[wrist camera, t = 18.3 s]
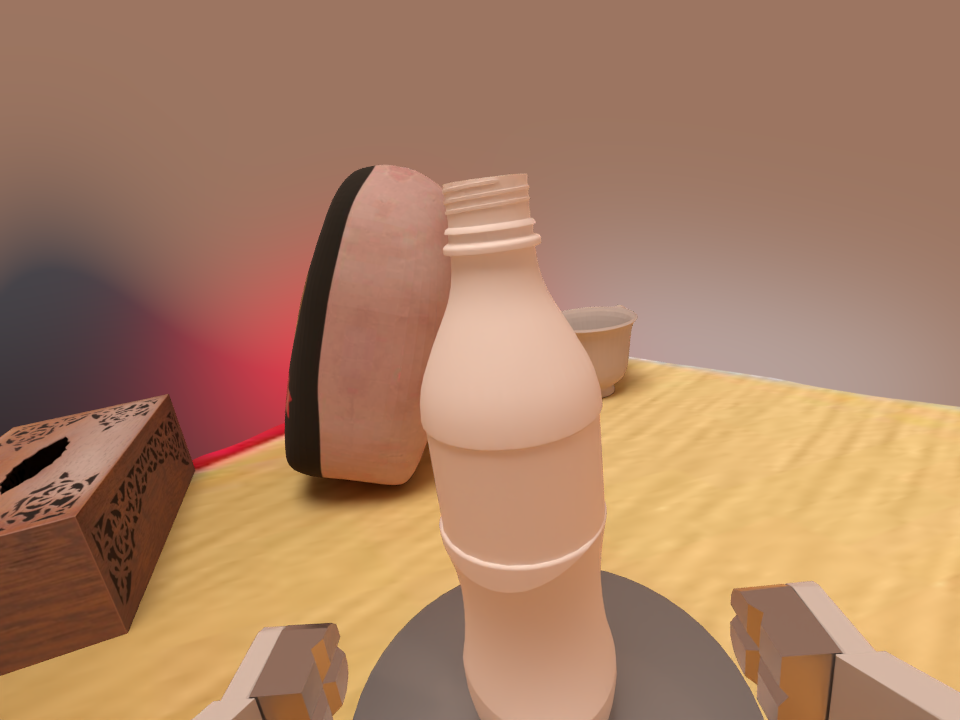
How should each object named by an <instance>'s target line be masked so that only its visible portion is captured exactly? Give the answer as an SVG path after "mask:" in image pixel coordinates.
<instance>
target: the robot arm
mask: <svg viewBox="0 0 960 720" xmlns="http://www.w3.org/2000/svg"><path fill="white" fill-rule="evenodd" d="M731 606H732V607H733V609H734V611H735V613H736V614H737V615H736V616H735V617H734V618H733V620H732V621H731V622H730V636H731V641H732V645H733V650H734V653H735V656H736V658H737V661H738V663H739V665H740V667H741V669H742V671H743V673H744V675H745V676H746V677H747V678H749V679H750V680H751V681H753V682H754V683H755V684H757V700H758V701H759V703H760V705H761V707H762V709H763V711H764V713H765V714H766V716H767V718H768V720H960V692H958V691H956V690H954V689H953V688H951V687H949V686H947V685H945V684H944V683H942V682H940V681H938V680H936V679H935V678H933V677H931V676H929V675H927V674H925V673H924V672H922V671H920V670H918V669H916V668H915V667H913V666H911V665H909V664H907V663H906V662H904V661H902V660H900V659H898V658H897V657H895V656H893V655H891V654H889V653H888V652H886V651H875V649H874V648H873V647H872V646H871V645H870V644H869V642H868V641H867V640H866V639H865V638H864V637H863V636H862V634H861V633H860V632H859V631H858V630H857V629H856V627H855V626H854V625H853V624H852V623H851V622H850V620H849V619H848V618H847V617H846V616H845V615H844V613H843V612H842V611H841V610H840V609H839V608H838V607H837V605H836V604H835V603H834V602H833V601H832V600H831V598H830V597H829V596H828V595H827V594H826V593H825V591H824V590H823V589H822V588H821V587H820V586H819V585H818V584H817V583H815V582H813V581H808V582H797V583H787V584H777V585H767V586H756V587H746V588H735V589H733V591H732V594H731ZM339 639H340V634H339V631H338V628H337V625H336V624H333V623H323V624H305V625H288V626H280V627H264V628H263V629H262V630H261V631H260V632H259V633H258V634H257V636H256V637H255V639H254V641H253V643H252V645H251V647H250V648H249V650H248V652H247V654H246V656H245V657H244V659H243V661H242V663H241V665H240V666H239V668H238V670H237V672H236V674H235V676H234V677H233V679H232V681H231V683H230V685H229V686H228V688H227V690H226V692H225V694H224V695H223V697H222V699H221V701H213V702H212V703H211V704H210V705H209V706H207V707H206V708H205V709H204V710H203V711H201V712H200V713H199V714H198V715H197V716H195V717H194V718H193V719H192V720H333V717H332V716H333V715H334V714H335V713H336V712H337V711H338V710H339V709H340V707H341V706H342V705H343V702H344V698H345V695H346V691H347V682H348V664H347V659H346V655H345V653H344V652H343V651H342V650H340V649H339V648H338V647H337V645H338V642H339Z"/></svg>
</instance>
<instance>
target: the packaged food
mask: <svg viewBox="0 0 960 720" xmlns="http://www.w3.org/2000/svg"><path fill="white" fill-rule="evenodd" d="M442 190H443V189H442V188H441V187H440V186H439V185H438V184H437V183H435V182H434V181H432V180H431V179H429V178H428V177H426V176H424V175H423V174H421V173H419V172H417V171H415V170H413V169H408V168H407V167H397V166H392V165H377V166H371V167H366V168H362V169H359V170H357V171H355V172H353V173H352V174H351V175H350V176H349V177H348V178H347V179H345V181H344V182H343V183H342V185H341V186H340V188H339V189H338V191H337V192H336V194H335V196H334V198H333V200H332V202H331V205H330V208H329V210H328V212H327V215H326V218H325V221H324V224H323V227H322V230H321V233H320V236H319V239H318V242H317V245H316V248H315V252H314V255H313V258H312V261H311V265H310V268H309V271H308V275H307V278H306V282H305V286H304V291H303V295H302V299H301V304H300V310H299V315H298V321H297V327H296V332H295V338H294V344H293V349H292V355H291V361H290V369H289V376H288V385H287V397H286V411H285V413H286V414H285V450H286V458H287V461H288V463H289V465H290V466H291V467H292V468H293V469H294V470H296V471H298V472H300V473H303V474H306V475H310V476H316V477H324V478H336V479H346V480H354V481H362V482H370V483H377V484H387V485H400V484H403V483H405V482H407V481H408V480H409V479H410V478H411V476H412V475H413V473H414V472H415V470H416V468H417V466H418V464H419V462H420V459H421V457H422V454H423V452H424V449H425V446H426V443H427V441H428V440H427V434H426V431H425V430H424V429H423V426H422V423H421V414H420V395H421V386H422V381H423V377H424V373H425V370H426V366H427V363H428V360H429V357H430V353H431V350H432V347H433V344H434V341H435V338H436V336H437V333H438V330H439V327H440V325H441V322H442V319H443V316H444V313H445V310H446V307H447V304H448V299H449V294H450V288H451V272H452V270H451V257H450V256H445V255H443V248H444V246H446V245H447V244H448V242H449V241H448V235H444V233H445V230H446V229H447V228H448V220H447V215H445V212H446V208H445V205H444V204H443V201H444V195H443V194H442Z"/></svg>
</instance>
